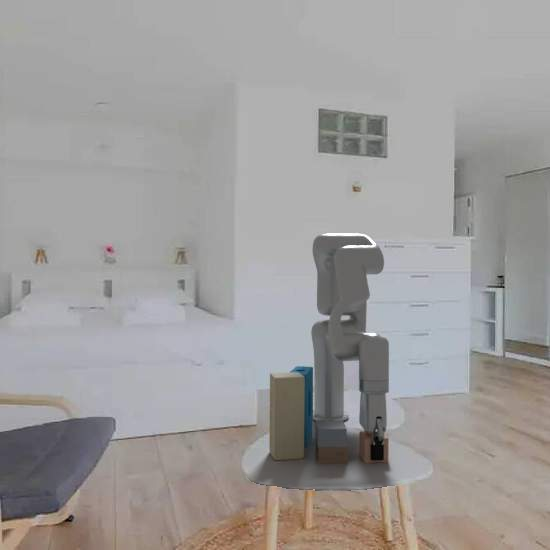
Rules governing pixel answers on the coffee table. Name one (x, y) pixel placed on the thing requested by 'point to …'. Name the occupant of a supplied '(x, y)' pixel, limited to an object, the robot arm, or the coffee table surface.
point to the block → (307, 401)
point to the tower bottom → (331, 455)
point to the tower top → (331, 434)
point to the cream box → (287, 415)
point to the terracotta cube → (365, 447)
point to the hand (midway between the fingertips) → (373, 454)
